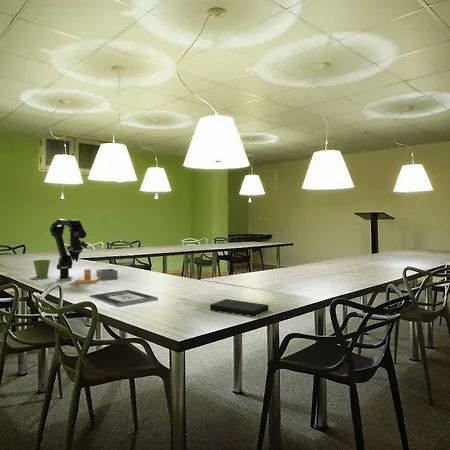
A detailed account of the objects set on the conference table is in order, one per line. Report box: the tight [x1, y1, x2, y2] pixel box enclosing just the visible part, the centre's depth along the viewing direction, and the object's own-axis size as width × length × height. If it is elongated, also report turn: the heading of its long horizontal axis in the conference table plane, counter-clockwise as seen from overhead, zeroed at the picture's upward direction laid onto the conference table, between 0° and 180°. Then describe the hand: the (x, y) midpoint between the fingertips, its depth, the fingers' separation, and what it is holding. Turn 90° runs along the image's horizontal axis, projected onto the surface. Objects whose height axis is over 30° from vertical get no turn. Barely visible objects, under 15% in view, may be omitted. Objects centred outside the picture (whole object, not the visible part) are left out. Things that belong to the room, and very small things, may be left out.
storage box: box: [96, 268, 118, 281], centre depth 269 cm, size 11×11×6 cm
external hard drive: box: [209, 298, 269, 317], centre depth 181 cm, size 14×23×3 cm, turn 57°
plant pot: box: [32, 259, 52, 278], centre depth 281 cm, size 12×12×11 cm
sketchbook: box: [89, 289, 158, 307], centre depth 207 cm, size 23×32×2 cm
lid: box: [74, 268, 101, 286], centre depth 254 cm, size 13×13×8 cm
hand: (75, 260), depth 265 cm, fingers open, 9 cm apart
